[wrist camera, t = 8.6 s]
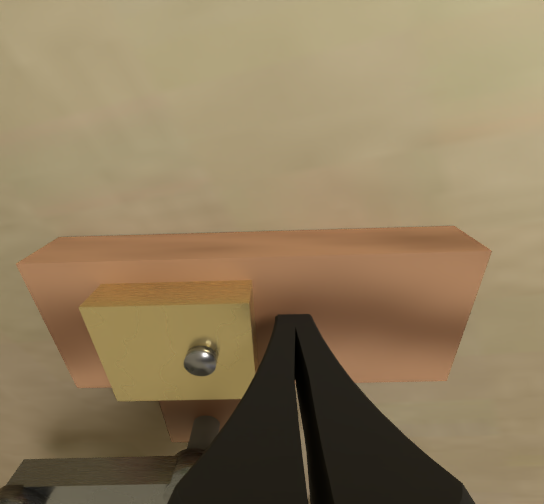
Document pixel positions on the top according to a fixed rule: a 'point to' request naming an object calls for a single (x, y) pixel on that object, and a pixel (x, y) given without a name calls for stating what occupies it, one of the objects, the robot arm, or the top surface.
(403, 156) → the top surface
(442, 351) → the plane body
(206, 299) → the wooden block with bolt
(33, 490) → the lever
